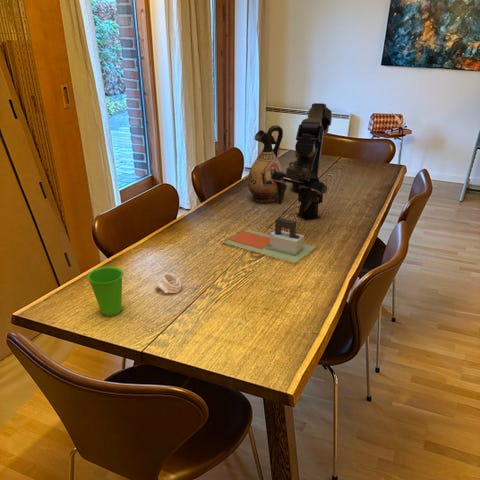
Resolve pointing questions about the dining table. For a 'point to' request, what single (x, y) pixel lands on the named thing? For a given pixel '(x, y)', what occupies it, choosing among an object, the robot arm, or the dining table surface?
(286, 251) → the iron
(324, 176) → the dining table surface
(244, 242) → the ironing mat
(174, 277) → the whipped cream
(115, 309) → the cup
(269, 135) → the ceramic jug
